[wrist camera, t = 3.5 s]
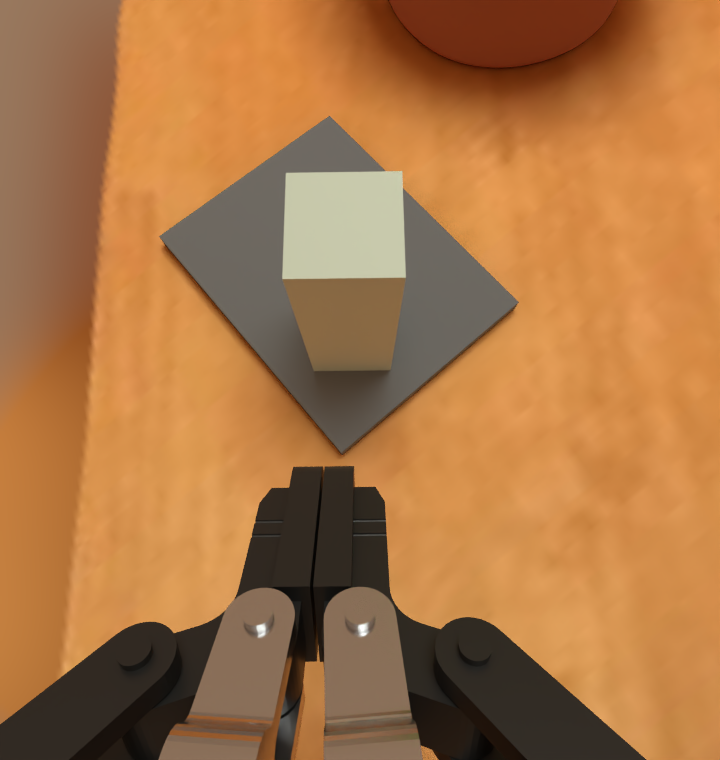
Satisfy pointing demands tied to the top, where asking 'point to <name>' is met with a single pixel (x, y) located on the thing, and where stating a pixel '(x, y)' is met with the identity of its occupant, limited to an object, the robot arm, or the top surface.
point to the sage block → (345, 265)
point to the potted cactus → (502, 28)
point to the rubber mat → (273, 308)
